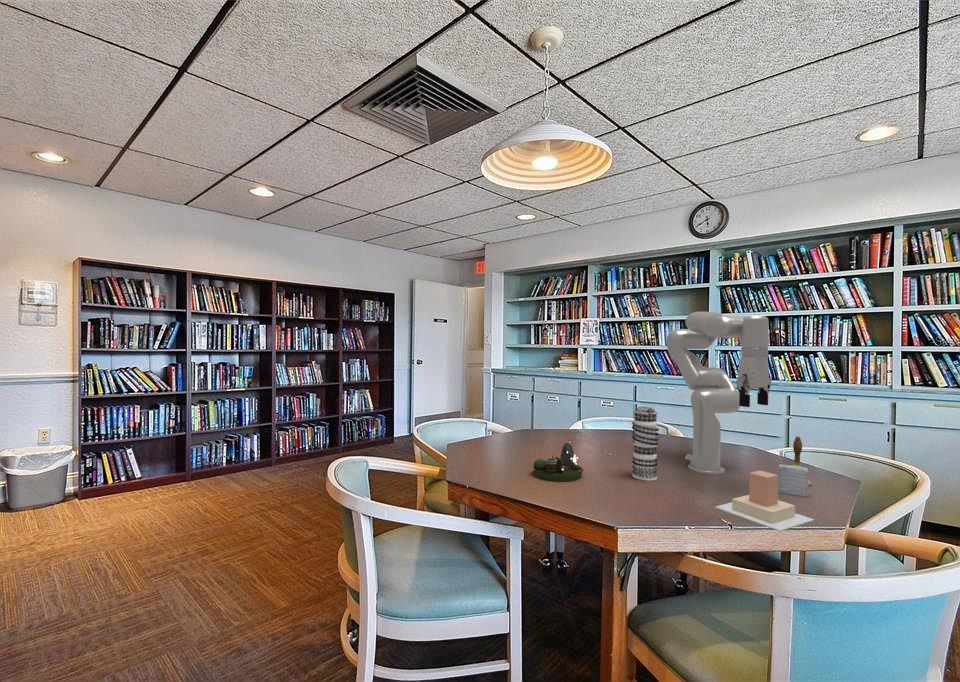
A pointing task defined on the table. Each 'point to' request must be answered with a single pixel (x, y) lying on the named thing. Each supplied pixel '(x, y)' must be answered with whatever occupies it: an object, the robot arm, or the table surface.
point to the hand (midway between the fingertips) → (753, 405)
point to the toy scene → (559, 466)
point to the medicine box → (793, 480)
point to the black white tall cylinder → (645, 444)
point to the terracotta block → (763, 488)
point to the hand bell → (798, 453)
